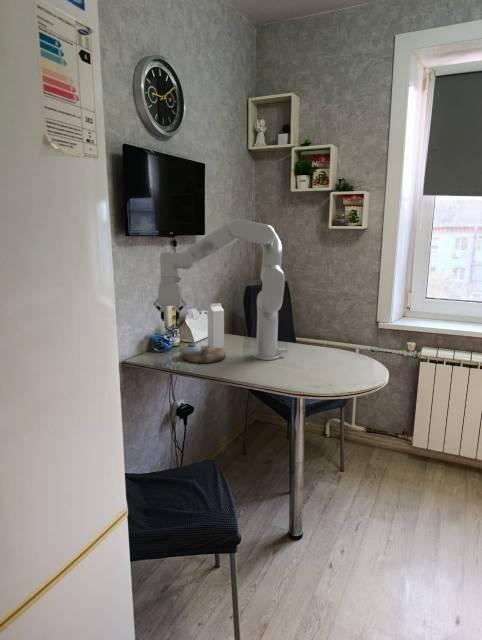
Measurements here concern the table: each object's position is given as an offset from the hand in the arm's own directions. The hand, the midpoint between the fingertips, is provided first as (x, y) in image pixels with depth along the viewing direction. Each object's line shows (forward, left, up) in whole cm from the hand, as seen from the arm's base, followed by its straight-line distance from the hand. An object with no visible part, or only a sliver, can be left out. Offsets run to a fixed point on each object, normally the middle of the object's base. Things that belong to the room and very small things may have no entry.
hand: (170, 320), depth 194 cm
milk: (-21, -17, -18) cm, 32 cm away
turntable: (-15, 0, -17) cm, 23 cm away
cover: (-9, 0, -15) cm, 18 cm away
